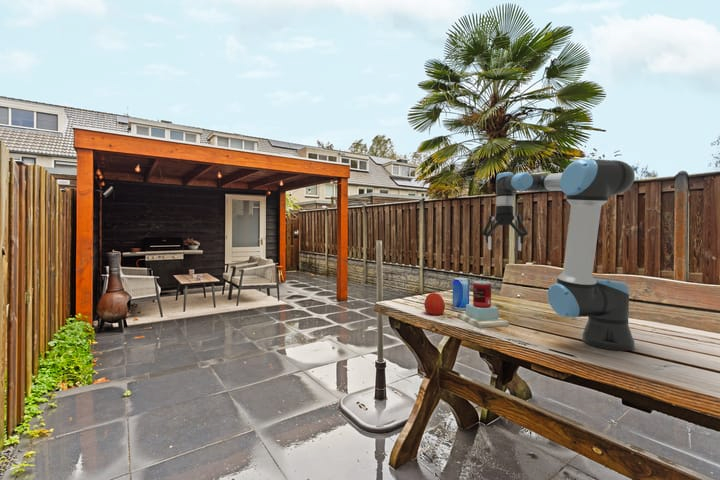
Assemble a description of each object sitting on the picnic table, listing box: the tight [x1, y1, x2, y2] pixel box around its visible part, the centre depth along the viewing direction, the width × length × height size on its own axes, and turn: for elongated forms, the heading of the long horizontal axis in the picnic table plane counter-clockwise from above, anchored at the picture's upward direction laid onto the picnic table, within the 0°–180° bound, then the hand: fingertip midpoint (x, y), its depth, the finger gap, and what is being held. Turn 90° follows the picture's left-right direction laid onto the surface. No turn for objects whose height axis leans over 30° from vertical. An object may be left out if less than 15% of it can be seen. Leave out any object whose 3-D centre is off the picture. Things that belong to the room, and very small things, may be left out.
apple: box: [423, 292, 446, 316], centre depth 167 cm, size 10×10×10 cm
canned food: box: [472, 280, 492, 308], centre depth 152 cm, size 8×8×11 cm
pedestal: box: [465, 303, 500, 321], centre depth 152 cm, size 10×10×5 cm
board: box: [457, 312, 509, 329], centre depth 152 cm, size 18×14×2 cm
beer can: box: [452, 277, 470, 311], centre depth 177 cm, size 8×8×16 cm
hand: (504, 250), depth 161 cm, fingers open, 13 cm apart
